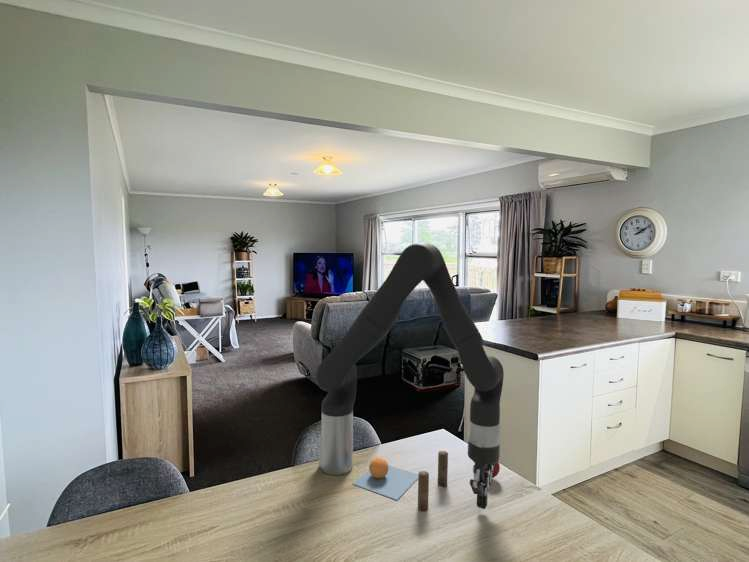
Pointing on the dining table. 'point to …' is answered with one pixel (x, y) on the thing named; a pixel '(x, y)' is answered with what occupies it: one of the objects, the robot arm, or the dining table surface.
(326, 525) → the dining table surface
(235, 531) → the dining table surface
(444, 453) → the post
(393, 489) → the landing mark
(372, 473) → the ball
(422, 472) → the post
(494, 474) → the onion
